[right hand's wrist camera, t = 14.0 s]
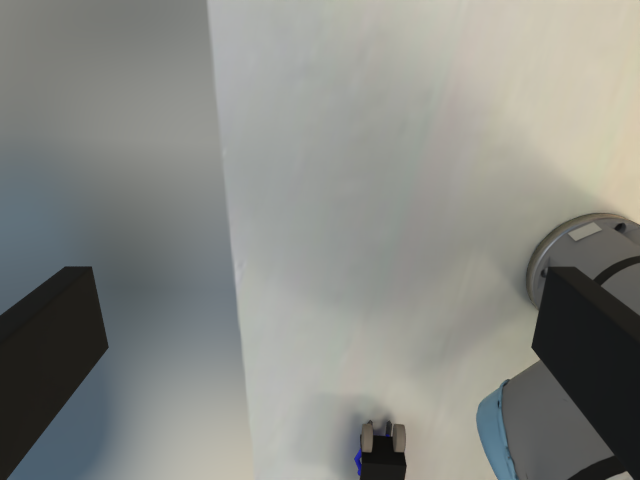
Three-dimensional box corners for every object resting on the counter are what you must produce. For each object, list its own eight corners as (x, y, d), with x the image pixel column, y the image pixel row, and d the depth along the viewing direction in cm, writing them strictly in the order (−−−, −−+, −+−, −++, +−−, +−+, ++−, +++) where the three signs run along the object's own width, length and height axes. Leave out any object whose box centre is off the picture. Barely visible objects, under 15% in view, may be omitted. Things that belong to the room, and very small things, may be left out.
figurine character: (355, 403, 64) (350, 487, 67) (360, 439, 56) (354, 531, 60) (401, 405, 64) (393, 488, 68) (411, 441, 56) (402, 532, 60)
